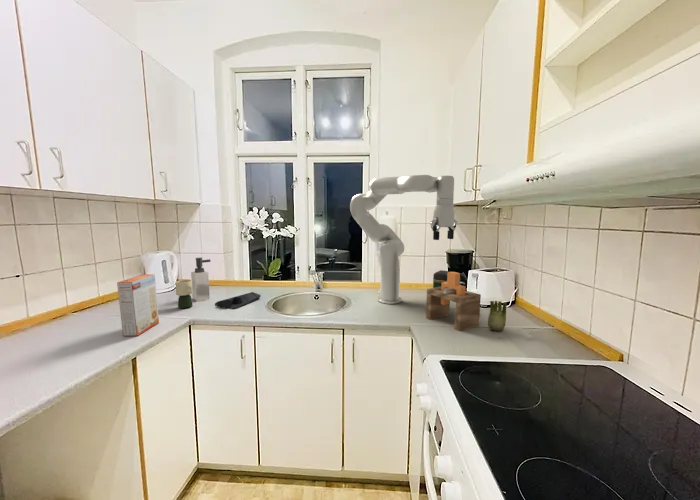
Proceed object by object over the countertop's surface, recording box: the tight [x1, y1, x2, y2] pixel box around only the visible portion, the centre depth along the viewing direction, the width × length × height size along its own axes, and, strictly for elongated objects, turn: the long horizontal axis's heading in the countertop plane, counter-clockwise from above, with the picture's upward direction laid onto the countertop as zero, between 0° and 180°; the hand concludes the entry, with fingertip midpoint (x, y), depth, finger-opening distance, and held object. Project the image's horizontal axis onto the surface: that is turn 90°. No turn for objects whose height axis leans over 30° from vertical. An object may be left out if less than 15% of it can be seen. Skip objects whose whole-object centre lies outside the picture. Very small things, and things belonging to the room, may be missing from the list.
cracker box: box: [116, 273, 160, 337], centre depth 122 cm, size 14×6×21 cm, turn 1°
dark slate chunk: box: [214, 291, 261, 310], centre depth 161 cm, size 15×22×5 cm
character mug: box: [174, 279, 193, 309], centre depth 151 cm, size 11×7×13 cm, turn 60°
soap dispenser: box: [190, 257, 211, 302], centre depth 165 cm, size 6×9×22 cm
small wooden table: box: [425, 287, 481, 332], centre depth 133 cm, size 18×12×15 cm, turn 32°
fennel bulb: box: [487, 300, 508, 332], centre depth 123 cm, size 6×5×12 cm
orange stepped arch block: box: [441, 271, 467, 305], centre depth 132 cm, size 10×3×14 cm, turn 32°
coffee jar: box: [432, 269, 450, 309], centre depth 149 cm, size 10×8×19 cm
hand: (443, 239), depth 149 cm, fingers open, 9 cm apart
